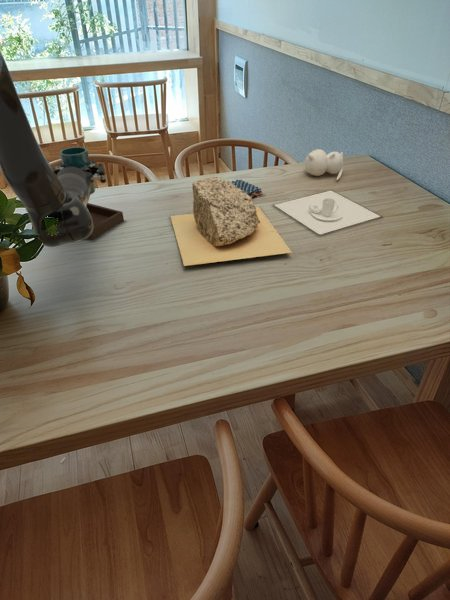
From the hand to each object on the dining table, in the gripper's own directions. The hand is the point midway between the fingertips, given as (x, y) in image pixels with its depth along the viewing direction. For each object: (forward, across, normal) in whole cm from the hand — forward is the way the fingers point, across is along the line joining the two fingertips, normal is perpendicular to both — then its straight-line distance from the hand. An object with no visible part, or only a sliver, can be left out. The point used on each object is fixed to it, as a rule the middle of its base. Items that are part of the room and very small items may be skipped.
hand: (77, 164), depth 108 cm
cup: (-2, 0, +6) cm, 6 cm away
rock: (-15, -33, +15) cm, 40 cm away
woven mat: (+9, -42, +15) cm, 45 cm away
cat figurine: (+17, -71, +15) cm, 74 cm away
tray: (-2, 0, +15) cm, 15 cm away
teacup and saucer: (-7, -62, +15) cm, 64 cm away
